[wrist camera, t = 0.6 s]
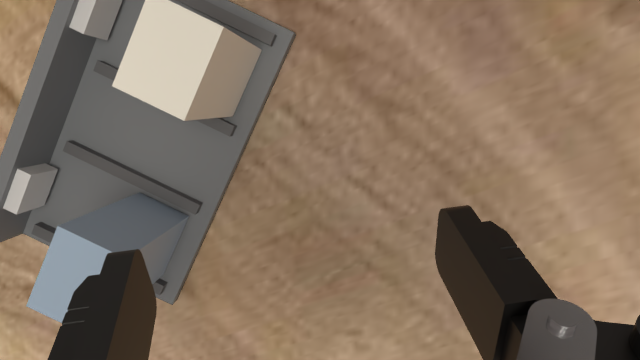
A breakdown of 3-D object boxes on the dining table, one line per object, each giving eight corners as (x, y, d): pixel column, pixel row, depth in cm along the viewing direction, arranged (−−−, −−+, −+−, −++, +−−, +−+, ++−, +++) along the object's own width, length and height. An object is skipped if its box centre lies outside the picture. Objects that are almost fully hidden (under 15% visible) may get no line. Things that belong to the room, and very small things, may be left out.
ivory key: (209, 24, 33) (148, -10, 23) (261, 50, 33) (223, 26, 23) (181, 91, 34) (111, 86, 24) (232, 116, 34) (184, 120, 24)
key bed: (116, -53, 34) (76, -80, 29) (296, 34, 34) (286, 22, 29) (14, 221, 38) (-37, 239, 33) (176, 299, 38) (150, 328, 33)
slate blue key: (139, 192, 35) (57, 225, 26) (188, 216, 36) (126, 258, 26) (114, 251, 36) (26, 306, 26) (163, 274, 36) (92, 337, 26)
